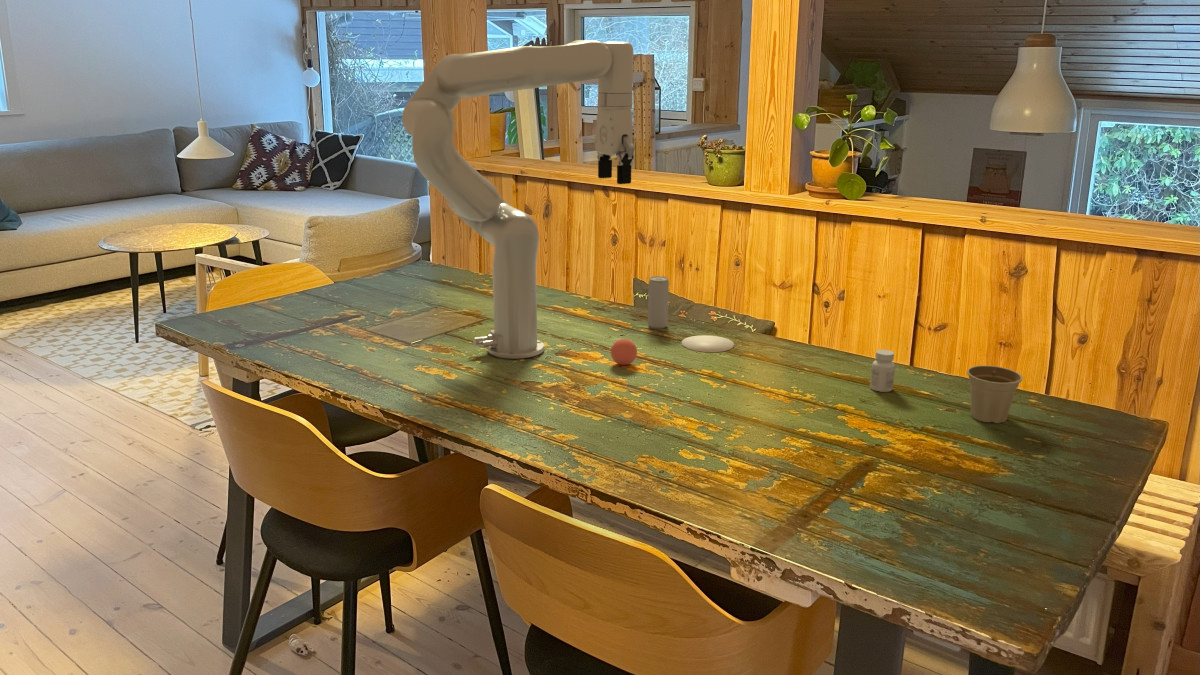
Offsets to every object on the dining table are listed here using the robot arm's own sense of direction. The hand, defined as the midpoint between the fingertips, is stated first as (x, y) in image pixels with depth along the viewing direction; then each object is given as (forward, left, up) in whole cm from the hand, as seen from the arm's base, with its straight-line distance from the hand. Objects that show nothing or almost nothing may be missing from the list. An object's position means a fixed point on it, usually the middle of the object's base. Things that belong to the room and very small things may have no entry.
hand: (614, 180), depth 206 cm
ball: (-6, -18, -34) cm, 39 cm away
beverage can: (+14, +4, -37) cm, 40 cm away
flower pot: (+43, -72, -37) cm, 92 cm away
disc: (+18, -13, -37) cm, 43 cm away
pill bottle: (+35, -52, -37) cm, 73 cm away
